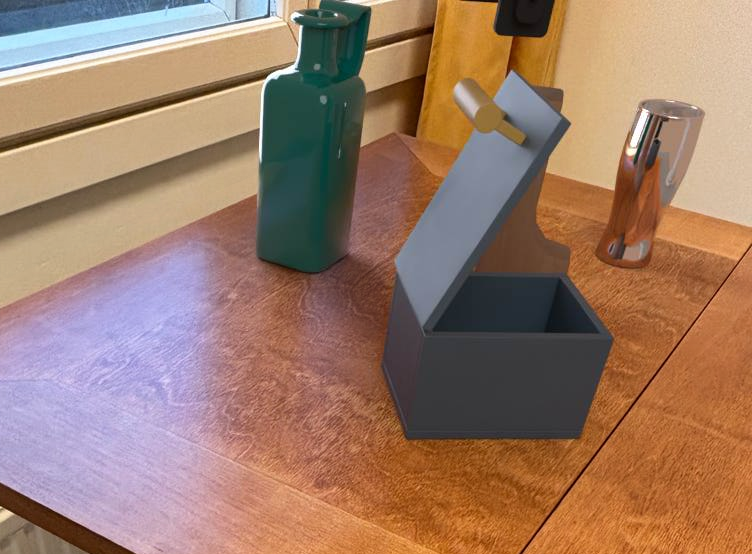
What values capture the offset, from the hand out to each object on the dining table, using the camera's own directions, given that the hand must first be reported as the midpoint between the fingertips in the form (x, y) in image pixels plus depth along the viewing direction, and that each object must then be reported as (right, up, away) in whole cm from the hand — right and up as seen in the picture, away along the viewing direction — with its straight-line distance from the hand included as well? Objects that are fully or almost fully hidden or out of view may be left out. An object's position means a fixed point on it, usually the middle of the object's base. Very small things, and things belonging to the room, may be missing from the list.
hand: (497, 17), depth 56 cm
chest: (+3, -19, +20) cm, 28 cm away
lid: (0, -8, +8) cm, 11 cm away
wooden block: (+11, -3, +36) cm, 38 cm away
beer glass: (+25, +4, +44) cm, 51 cm away
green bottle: (-11, +2, +40) cm, 42 cm away
